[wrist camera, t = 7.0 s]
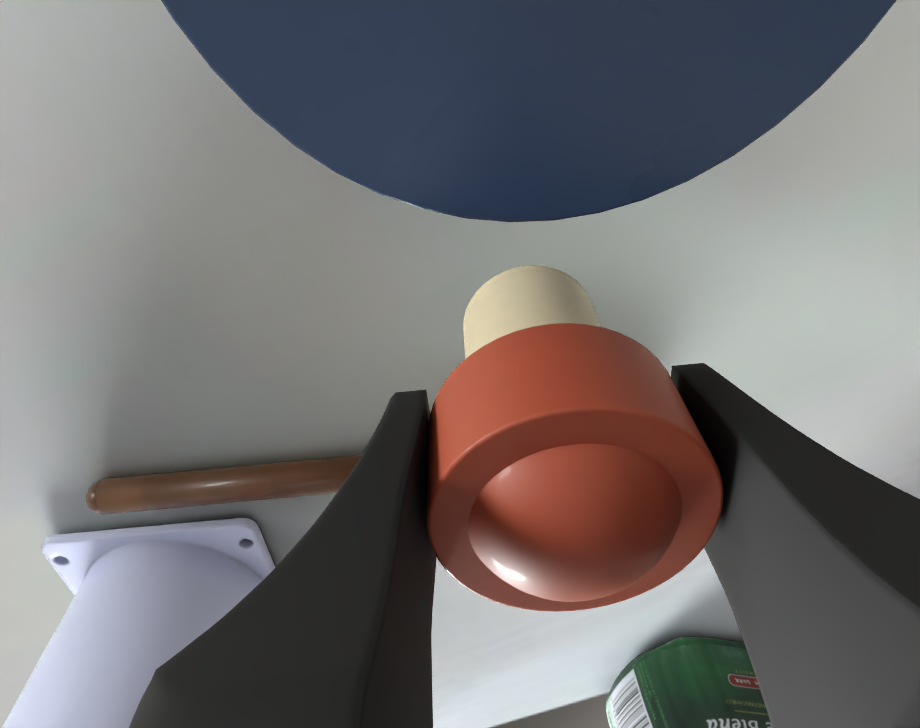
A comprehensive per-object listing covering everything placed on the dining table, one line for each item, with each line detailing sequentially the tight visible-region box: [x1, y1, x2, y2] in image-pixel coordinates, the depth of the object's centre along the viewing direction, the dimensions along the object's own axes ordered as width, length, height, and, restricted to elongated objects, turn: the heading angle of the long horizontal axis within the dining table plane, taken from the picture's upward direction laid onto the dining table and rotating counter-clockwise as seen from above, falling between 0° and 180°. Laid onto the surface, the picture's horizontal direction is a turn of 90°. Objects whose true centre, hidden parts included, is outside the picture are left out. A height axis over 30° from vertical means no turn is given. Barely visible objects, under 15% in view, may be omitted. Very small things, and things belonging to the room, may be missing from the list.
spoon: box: [86, 455, 361, 514], centre depth 21 cm, size 18×5×1 cm, turn 96°
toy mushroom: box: [426, 266, 723, 611], centre depth 12 cm, size 5×5×7 cm
